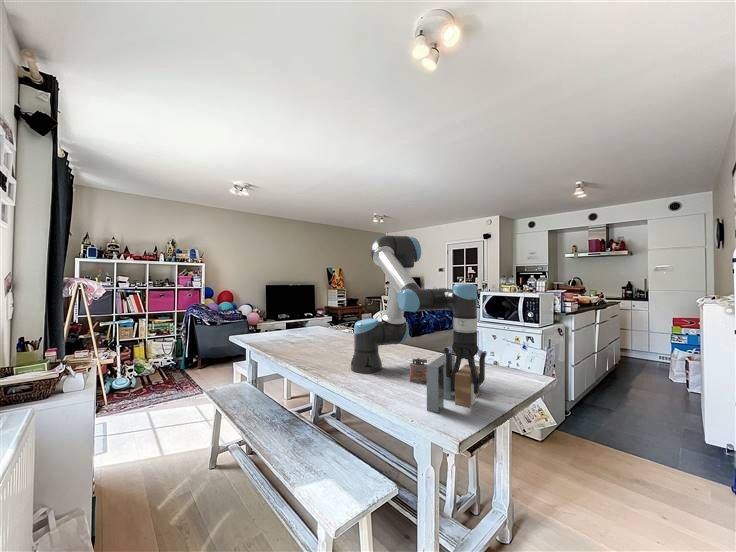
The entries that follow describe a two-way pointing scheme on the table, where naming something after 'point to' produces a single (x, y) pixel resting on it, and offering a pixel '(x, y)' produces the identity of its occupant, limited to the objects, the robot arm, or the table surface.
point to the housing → (438, 384)
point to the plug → (464, 386)
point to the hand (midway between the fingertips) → (465, 400)
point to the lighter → (418, 371)
